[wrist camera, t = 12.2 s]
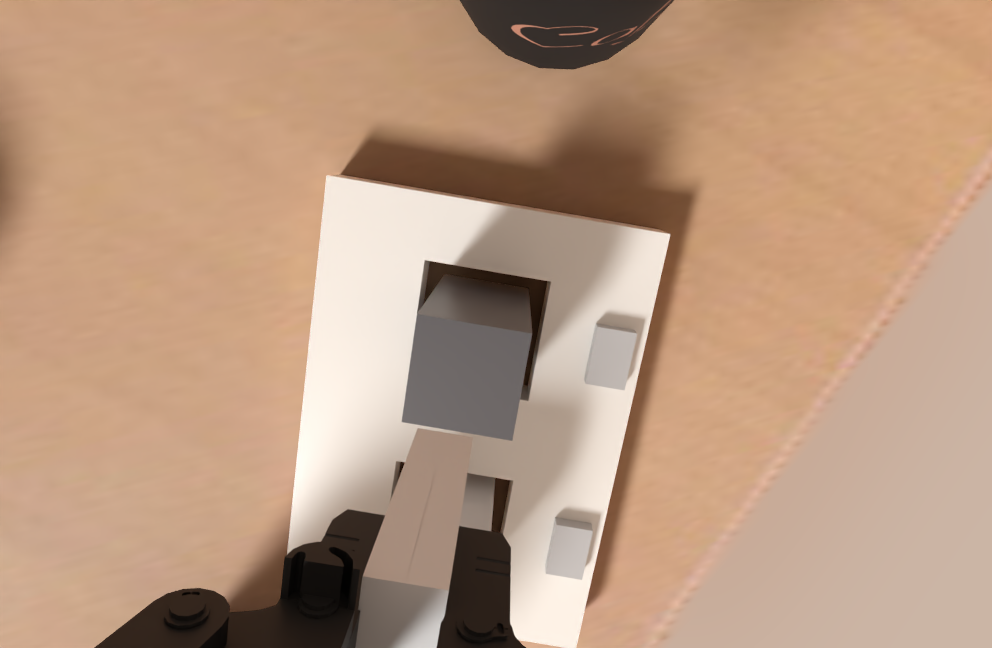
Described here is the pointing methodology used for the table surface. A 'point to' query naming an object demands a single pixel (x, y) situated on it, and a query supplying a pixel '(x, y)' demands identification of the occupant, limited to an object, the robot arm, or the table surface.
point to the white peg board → (543, 403)
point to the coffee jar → (563, 28)
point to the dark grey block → (469, 357)
